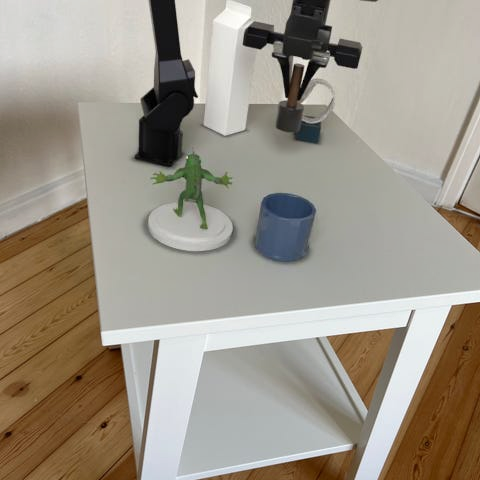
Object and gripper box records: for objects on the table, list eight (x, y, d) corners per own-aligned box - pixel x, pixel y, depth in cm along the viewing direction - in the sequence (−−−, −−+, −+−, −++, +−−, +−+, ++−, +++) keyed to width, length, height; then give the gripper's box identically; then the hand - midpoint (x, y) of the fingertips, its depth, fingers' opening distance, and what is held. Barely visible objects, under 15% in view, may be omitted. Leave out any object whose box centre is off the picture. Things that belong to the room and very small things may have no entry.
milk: (224, 136, 107) (240, 8, 93) (202, 125, 109) (214, -1, 95) (245, 130, 110) (263, 6, 96) (223, 119, 113) (237, -3, 99)
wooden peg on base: (272, 129, 96) (284, 65, 90) (277, 121, 100) (288, 59, 93) (297, 134, 96) (310, 71, 89) (301, 126, 99) (313, 64, 93)
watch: (287, 128, 114) (298, 72, 107) (325, 134, 114) (338, 79, 107) (286, 138, 110) (297, 81, 103) (326, 145, 110) (339, 88, 103)
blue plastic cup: (249, 254, 76) (256, 212, 72) (260, 228, 82) (267, 188, 78) (302, 266, 76) (312, 225, 72) (308, 239, 81) (318, 200, 77)
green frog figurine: (225, 208, 85) (233, 144, 79) (238, 252, 76) (249, 183, 70) (146, 205, 83) (148, 138, 76) (150, 250, 74) (152, 179, 67)
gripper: (241, -9, 79) (228, 101, 89) (370, 16, 78) (342, 126, 88) (257, -20, 88) (243, 82, 98) (373, 3, 86) (347, 104, 96)
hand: (292, 98), depth 95 cm, fingers closed on wooden peg on base, 2 cm apart
